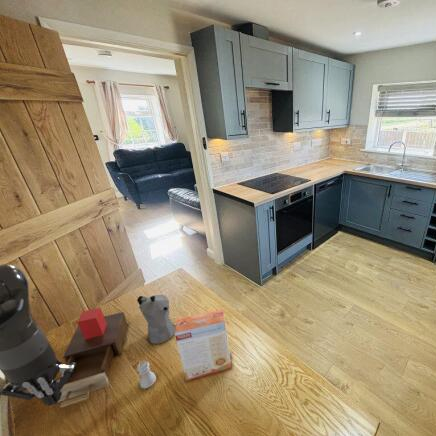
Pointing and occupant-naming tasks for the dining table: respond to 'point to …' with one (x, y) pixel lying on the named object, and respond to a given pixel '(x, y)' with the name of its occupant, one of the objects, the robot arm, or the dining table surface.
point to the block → (92, 323)
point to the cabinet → (100, 337)
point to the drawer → (87, 374)
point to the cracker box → (203, 344)
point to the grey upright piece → (157, 317)
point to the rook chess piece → (146, 375)
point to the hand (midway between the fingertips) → (54, 401)
